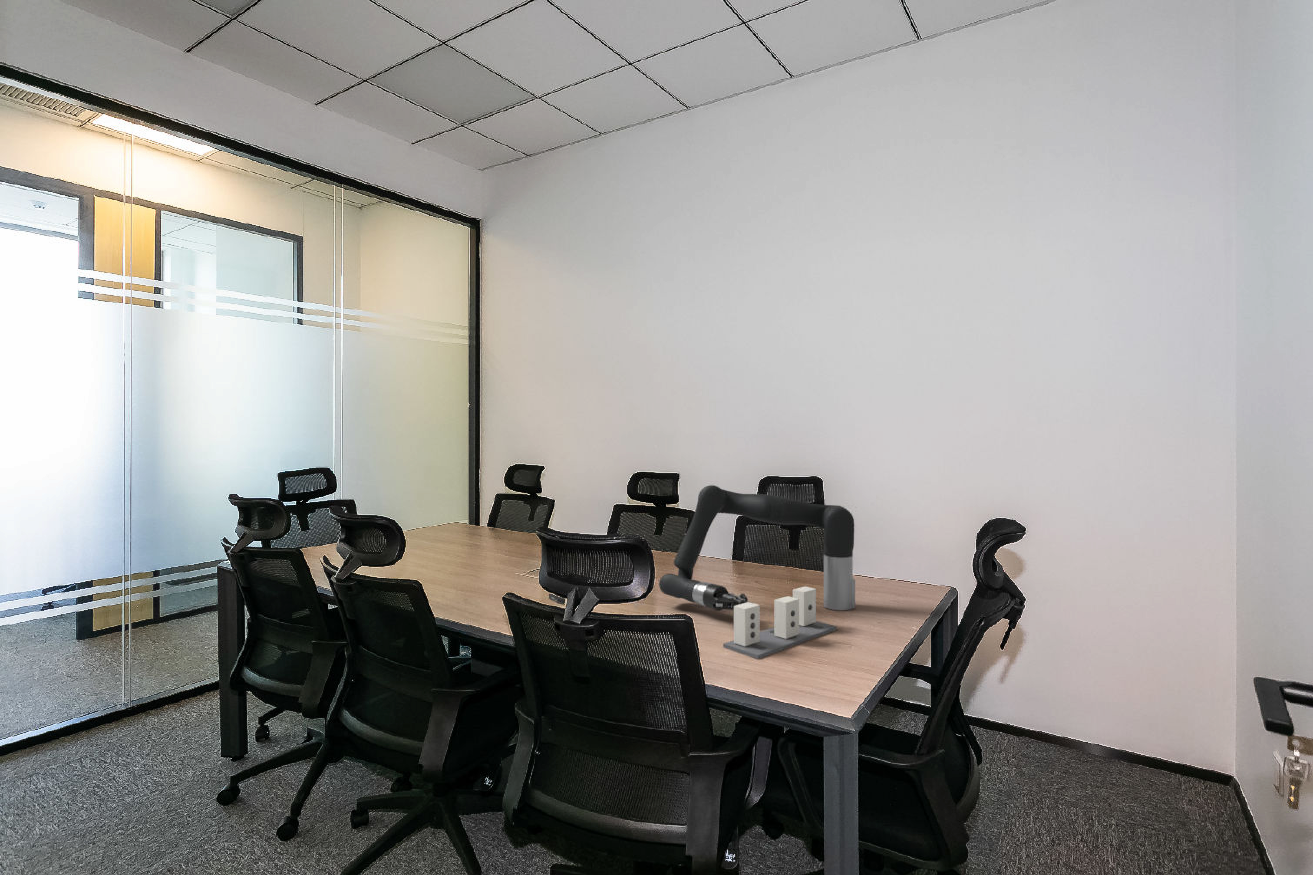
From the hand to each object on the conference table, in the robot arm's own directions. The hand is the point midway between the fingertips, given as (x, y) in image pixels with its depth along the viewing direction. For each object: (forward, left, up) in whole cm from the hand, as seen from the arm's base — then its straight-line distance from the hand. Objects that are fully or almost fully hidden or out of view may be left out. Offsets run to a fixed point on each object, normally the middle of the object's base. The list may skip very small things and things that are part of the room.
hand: (752, 607), depth 193 cm
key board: (-5, +9, -7) cm, 13 cm away
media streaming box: (+50, -46, -7) cm, 68 cm away
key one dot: (-16, +1, -5) cm, 17 cm away
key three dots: (+7, +14, -5) cm, 17 cm away
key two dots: (-6, +11, -5) cm, 13 cm away
